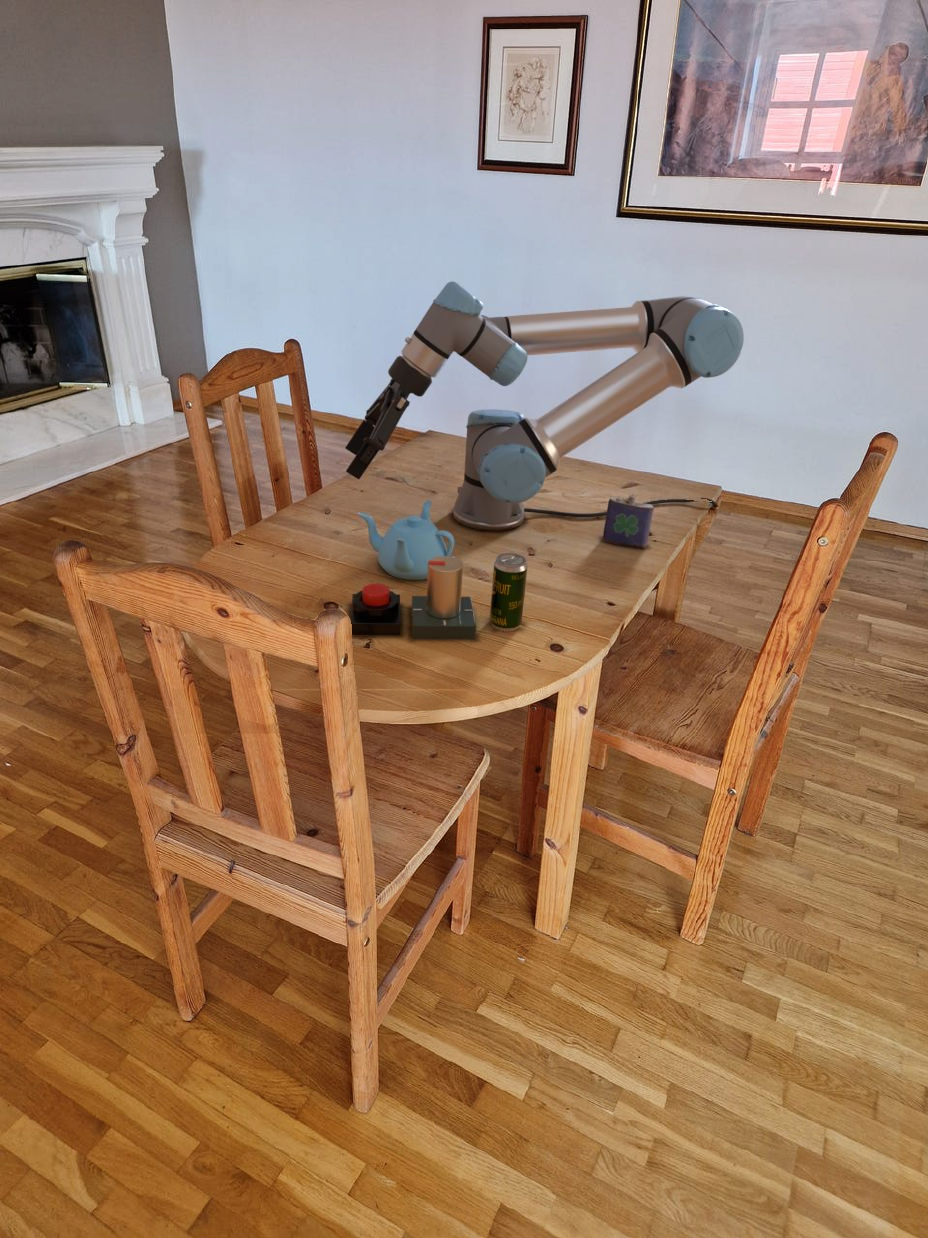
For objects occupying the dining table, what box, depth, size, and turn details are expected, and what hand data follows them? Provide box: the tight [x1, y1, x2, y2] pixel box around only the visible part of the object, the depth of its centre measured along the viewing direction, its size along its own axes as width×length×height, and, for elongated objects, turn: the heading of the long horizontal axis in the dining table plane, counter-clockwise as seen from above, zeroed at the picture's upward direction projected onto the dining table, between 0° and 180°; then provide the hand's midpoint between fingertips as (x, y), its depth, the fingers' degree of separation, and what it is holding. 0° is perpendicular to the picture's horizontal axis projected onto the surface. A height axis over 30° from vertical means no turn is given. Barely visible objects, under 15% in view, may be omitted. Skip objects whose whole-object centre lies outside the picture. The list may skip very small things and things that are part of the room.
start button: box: [361, 583, 391, 606], centre depth 132 cm, size 4×4×2 cm
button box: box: [349, 590, 402, 636], centre depth 133 cm, size 8×10×4 cm
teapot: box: [358, 499, 456, 581], centre depth 149 cm, size 15×15×10 cm
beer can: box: [489, 552, 529, 633], centre depth 132 cm, size 5×5×12 cm
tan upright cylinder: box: [426, 556, 464, 619], centre depth 131 cm, size 6×6×9 cm
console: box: [411, 595, 477, 640], centre depth 134 cm, size 10×10×3 cm
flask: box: [602, 493, 655, 549], centre depth 165 cm, size 9×3×11 cm, turn 68°
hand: (351, 463), depth 151 cm, fingers open, 13 cm apart
